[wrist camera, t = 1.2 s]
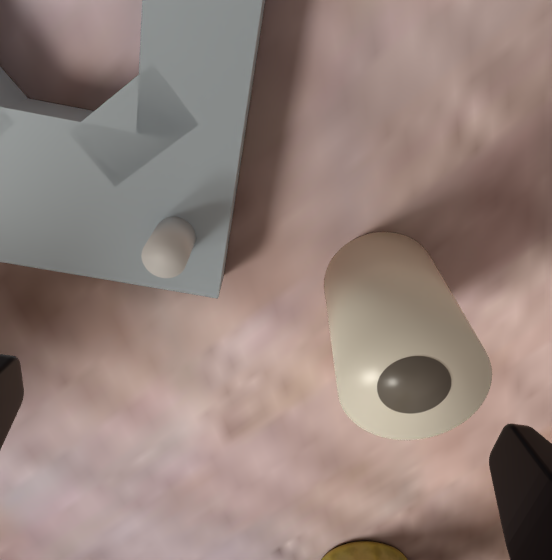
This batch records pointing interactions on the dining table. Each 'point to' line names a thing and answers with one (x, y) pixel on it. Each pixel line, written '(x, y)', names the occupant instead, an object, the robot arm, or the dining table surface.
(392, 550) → the vase
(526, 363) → the dining table surface
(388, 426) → the bushing
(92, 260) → the jig
